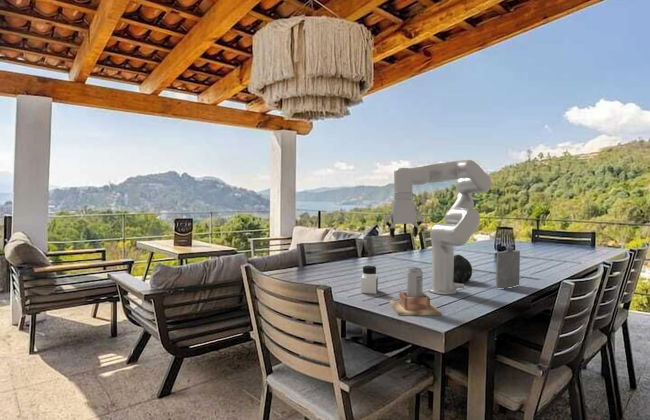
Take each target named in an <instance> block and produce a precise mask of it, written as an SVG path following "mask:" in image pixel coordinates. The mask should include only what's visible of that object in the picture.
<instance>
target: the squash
mask: <svg viewBox="0 0 650 420" xmlns="http://www.w3.org/2000/svg"><path fill="white" fill-rule="evenodd" d="M472 275H473V266H472V264H471V262H470V261H469V260H468V259H467V258H465V257H464V256H463V255H461V254H456V255H455V254H454V274H453V282H455V283H459V284H463V283H465V282H469V281H470V279H471V278H472Z"/></svg>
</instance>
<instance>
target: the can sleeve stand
mask: <svg viewBox="0 0 650 420" xmlns="http://www.w3.org/2000/svg"><path fill="white" fill-rule="evenodd" d="M398 296H399V299H398V300H389V304H390V305H391V307H392V308H393V311H394V312H395V313H396V314H397V316H441V315H442V312H441V311H440V309H438V308H437V307H436V306H435V305H434V304H432V302H431V298H430V296H429V295H427V294H426V293H425V292H424V291H422V297H407V291H399V295H398Z"/></svg>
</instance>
